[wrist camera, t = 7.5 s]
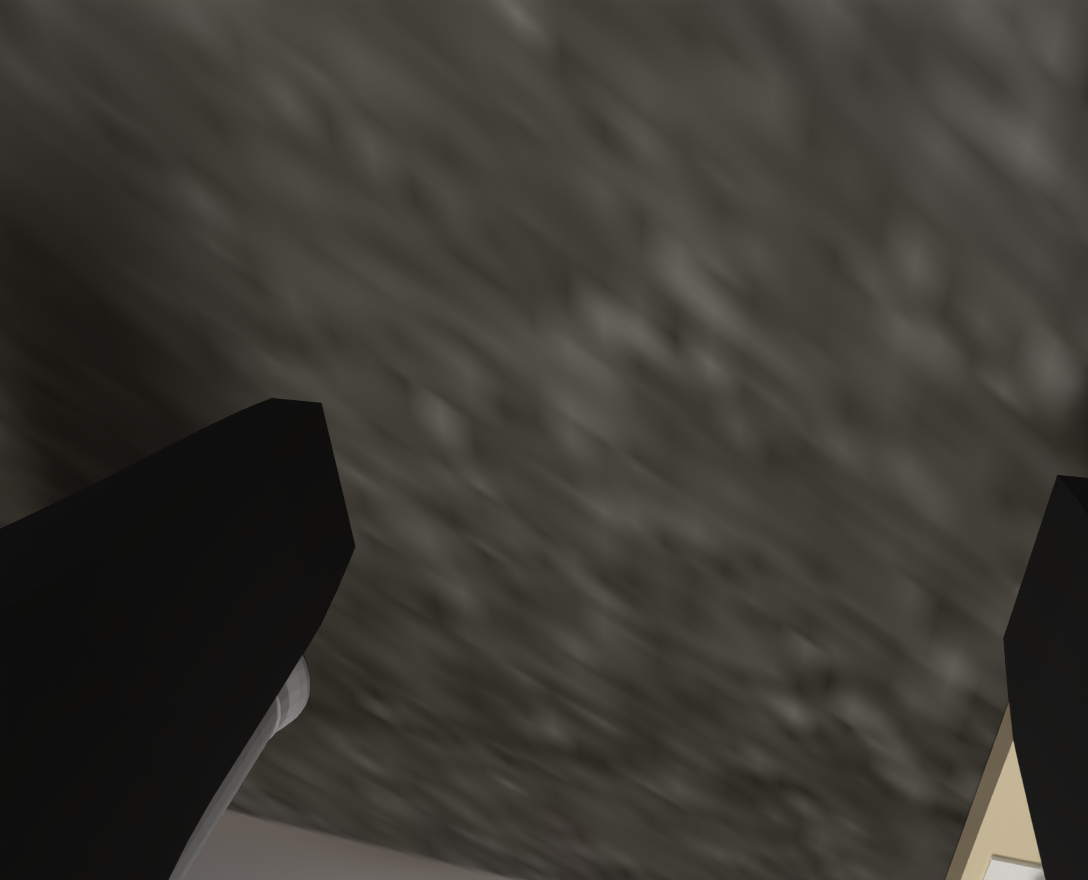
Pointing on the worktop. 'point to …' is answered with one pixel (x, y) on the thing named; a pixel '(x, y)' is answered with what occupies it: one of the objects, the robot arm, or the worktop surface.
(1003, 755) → the board
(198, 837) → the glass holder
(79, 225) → the worktop surface
